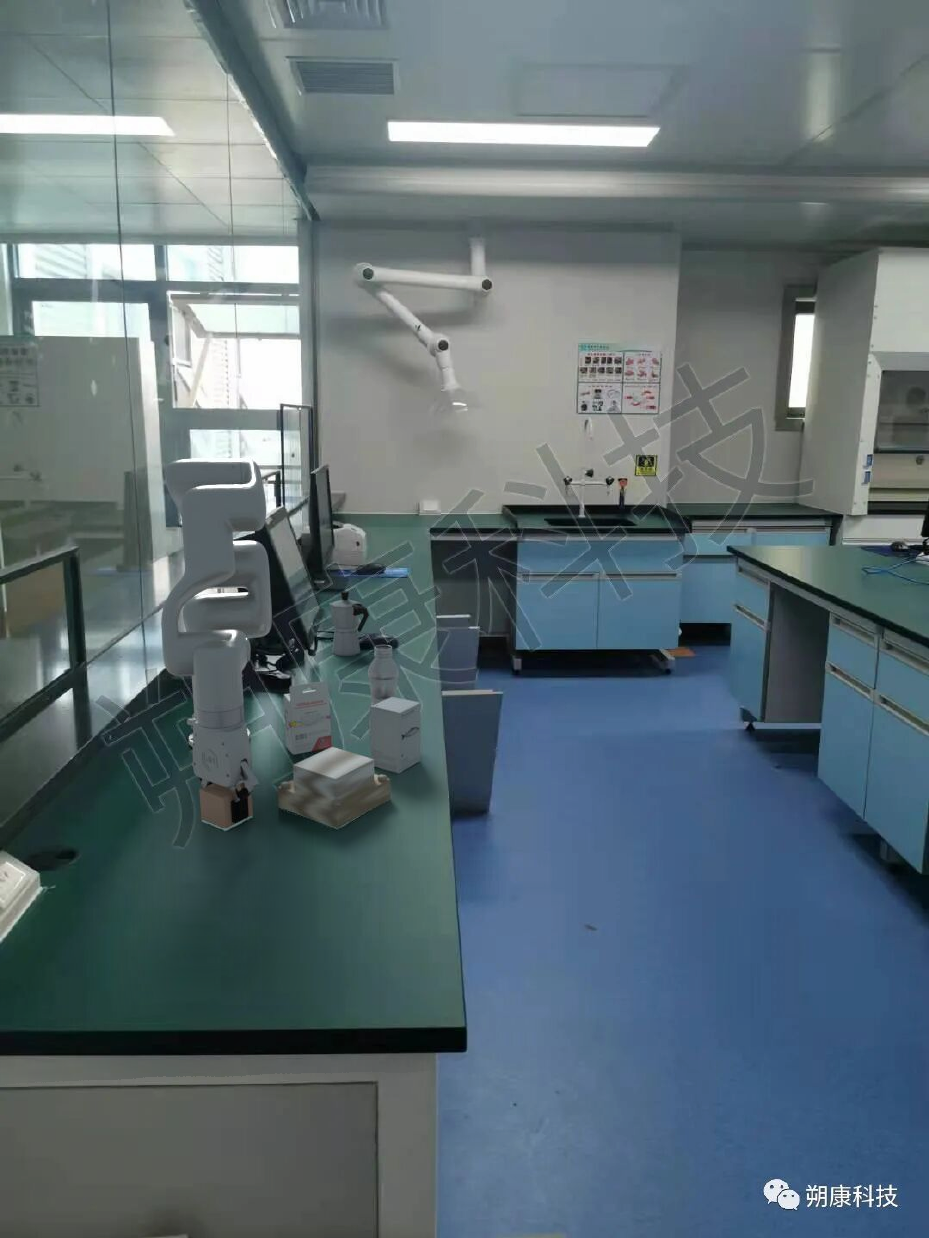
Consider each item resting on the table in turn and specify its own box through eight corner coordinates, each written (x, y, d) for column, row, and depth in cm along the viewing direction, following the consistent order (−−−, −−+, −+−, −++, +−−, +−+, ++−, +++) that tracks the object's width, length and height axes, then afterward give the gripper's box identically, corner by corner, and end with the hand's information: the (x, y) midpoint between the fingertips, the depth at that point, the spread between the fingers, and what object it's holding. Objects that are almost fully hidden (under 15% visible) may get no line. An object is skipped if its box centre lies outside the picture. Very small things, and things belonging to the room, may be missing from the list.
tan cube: (201, 821, 142) (199, 789, 141) (229, 808, 147) (227, 777, 146) (225, 831, 139) (223, 798, 138) (252, 817, 144) (251, 785, 143)
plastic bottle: (395, 743, 177) (394, 652, 172) (365, 740, 178) (363, 650, 173) (403, 732, 183) (403, 644, 178) (374, 729, 184) (372, 642, 180)
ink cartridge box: (324, 740, 178) (322, 674, 175) (332, 748, 174) (330, 680, 171) (285, 746, 174) (282, 679, 171) (291, 755, 170) (288, 686, 167)
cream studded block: (278, 808, 148) (276, 766, 146) (332, 780, 159) (331, 740, 157) (337, 830, 140) (336, 786, 138) (390, 799, 151) (389, 758, 149)
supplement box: (399, 774, 162) (399, 713, 159) (369, 765, 166) (368, 705, 163) (421, 761, 168) (421, 702, 165) (392, 753, 172) (391, 695, 169)
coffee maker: (319, 651, 243) (317, 591, 239) (340, 645, 250) (339, 586, 246) (358, 660, 235) (356, 598, 231) (378, 653, 242) (377, 592, 238)
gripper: (168, 711, 140) (176, 809, 145) (238, 733, 131) (244, 837, 135) (204, 699, 146) (210, 793, 151) (274, 719, 137) (278, 819, 141)
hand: (226, 813), depth 143 cm, fingers closed on tan cube, 6 cm apart
